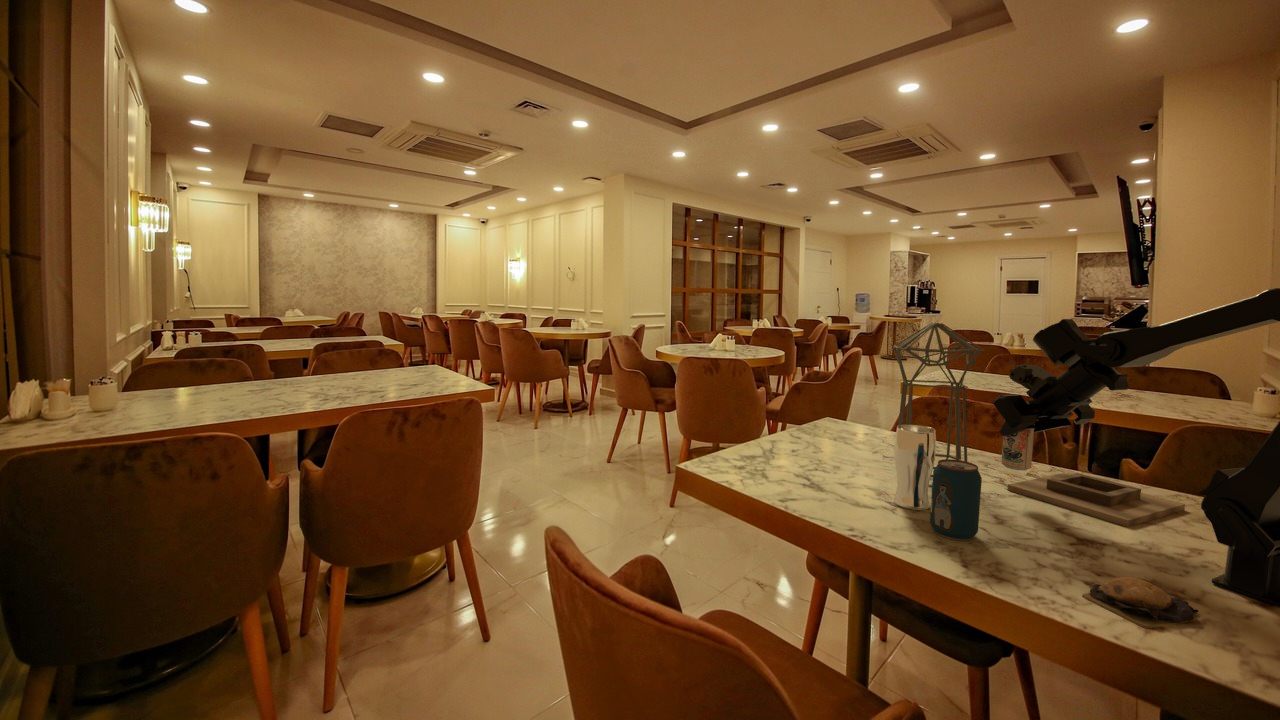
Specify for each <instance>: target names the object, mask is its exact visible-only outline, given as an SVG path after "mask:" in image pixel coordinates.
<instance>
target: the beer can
mask: <svg viewBox="0 0 1280 720" xmlns="http://www.w3.org/2000/svg"><path fill="white" fill-rule="evenodd" d="M1003 419H1004V418H1003ZM1004 422H1005V419H1004V420H1003V423H1004ZM1034 424H1035V423H1034ZM1034 424H1033V425H1034ZM1034 435H1035V433H1034V429H1030V430H1026V431H1022V432H1019V433H1015V434H1011V435H1007V436H1002V450H1001V461H1000V462H1001V465H1002V466H1004V467H1005V468H1007V469H1011V470H1015V471H1028V470H1030V469H1032V463H1033V462H1032V461H1033V449H1034Z"/></svg>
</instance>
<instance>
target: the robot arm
mask: <svg viewBox="0 0 1280 720" xmlns="http://www.w3.org/2000/svg"><path fill="white" fill-rule="evenodd" d="M1279 322H1280V287H1276V288H1270V289H1267V290H1264V291H1262V292H1260V293H1259V294H1256V295H1253V296H1250V297H1246V298H1243V299H1240V300H1237V301H1233V302H1230V303H1226V304H1223V305H1220V306H1216V307H1214V308H1210V309H1208V310H1204V311H1202V312H1198V313H1194V314H1191V315H1188V316H1184V317H1182V318H1178V319H1175V320H1172V321H1168V322H1164V323H1162V324H1158V325H1151V326H1145V327H1144V326H1142V327H1137V328H1136V327H1135V328H1128V329H1121V330H1115V331H1108V332H1104V333H1103V334H1100V335H1099V336H1098V337H1097V338H1095V339H1094V338H1092V339H1091V338H1089V337H1088V335H1086V333H1084V332H1083V331H1082V329H1081V328H1080V327H1079V326H1078V324H1077V323H1076V322H1075V321H1074V319H1072V318H1062V319H1061V320H1060V321H1059V322H1057V323H1054V324H1051V325H1049V326H1047V327H1044V329H1040V330H1039V331H1038V332H1036V334H1034V336H1033V338H1032V341H1033V343H1034V344H1035V345H1036V346H1037V347H1038V348H1039V349H1040V350H1041V352H1042V353H1043V354H1044V355H1045V356H1046V357H1047V359H1048V360H1049V361H1050V362H1051V363H1052V364H1053V365H1054V366H1061V365H1062V366H1064V367H1068V368H1067V369H1065V370H1064V371H1063V372H1062V373H1060V374H1059V375H1058V376H1055V375H1054V374H1053V373H1052V372H1050V371H1047V370H1046V369H1044V368H1043V367H1041V366H1039V365H1037V364H1034V363H1033V364H1030V363H1029V364H1018V365H1014V368H1011V369H1009V375H1008V376H1009V377H1008V378H1009V379H1010V380H1011V381H1012V382H1014V383H1016V384H1019V385H1021V386H1022V387H1024V388H1026V389H1027V391H1026V392H1025V393H1026V394H1027V396H1028V397H1029V398H1031V399H1032V400H1027V401H1026V400H1025V399H1024V397H1023V396H1022V395H1020V394H999V395H998V396H997V397H995V399H994V400H993V401H992V404H993V407H995V409H996V410H997V411H998V412H999V414H1000V415H1001V416H1002V418H1003V419H1005V422H1004V421H1003V424H1002V427H1001V428H1000V430H999V434H1000V435H1001V436H1002V437H1003V436H1007V435H1011V434H1015V433H1019V432H1022V431H1026V430H1030V429H1034V434H1035V433H1040V432H1044V431H1050V430H1056V429H1059V428H1066V427H1070V426H1072V422H1071V421H1070V418H1071V417H1073V416H1074V414H1075V415H1076V416H1077V417H1076V418H1075V419H1073V422H1074V424H1075V425H1085V424H1086V425H1087V424H1088V423H1089V422H1091V421H1093V420H1094V419H1095V413H1096V411H1095V410H1094V409H1093V408H1092V406H1090V404H1091V403H1093V401H1092V399H1091V398H1093V397H1094V396H1096V395H1097V394H1098V393H1100V392H1101V391H1103V390H1104V389H1105V388H1107V389H1108V390H1109V391H1113V392H1114V391H1127V390H1129V381H1128V378H1129V375H1128V373H1120V372H1119V371H1117V369H1116V368H1133V367H1134V368H1135V367H1136V368H1137V367H1144V366H1147V365H1150V364H1152V363H1154V362H1156V361H1159V360H1161V359H1163V358H1166V357H1168V356H1169V355H1171V354H1173V353H1174V352H1176V351H1178V350H1180V349H1182V348H1185V347H1188V346H1189V347H1190V346H1192V345H1196V344H1200V343H1203V342H1207V341H1211V340H1215V339H1220V338H1223V337H1226V336H1230V335H1233V334H1234V335H1235V334H1238V333H1242V332H1245V331H1249V330H1252V329H1253V330H1254V329H1256V328H1260V327H1264V326H1269V325H1272V324H1275V323H1279ZM1069 366H1070V367H1069ZM1073 412H1074V413H1073ZM1034 423H1035V424H1034ZM1033 424H1034V425H1033ZM1199 494H1200V495H1201V496H1204V497H1203V498H1202V500H1201V504H1200V509H1201V510H1202V511H1203V513H1204V515H1205V517H1206V519H1208V521H1209V522H1210V523H1211V526H1212V529H1213V532H1214V536H1215V537H1216V541H1217V543H1219V544H1222V545H1224V546H1226V547H1227V552H1226V553H1227V554H1226V562H1225V567H1224V568H1225V569H1224V574H1220V575H1217V576H1216V577H1214V578H1211V583H1212V584H1213V585H1217V586H1220V587H1222V588H1224V589H1228V590H1231V591H1234V592H1236V593H1240V594H1242V595H1246V596H1249V597H1251V598H1254V599H1257V600H1260V601H1263V602H1266V603H1269V604H1271V605H1274V606H1277V607H1280V420H1279V421H1278V423H1277V424H1276V425H1275V426H1274V429H1272V431H1271V432H1270V434H1269V435H1268V436H1267V438H1266V439H1265V440H1264V442H1263V443H1262V444H1261V445H1260V447H1259V448H1258V450H1256V452H1255V454H1254V456H1252V458H1251V460H1250V461H1249V462H1248V464H1246V465H1245V466H1244V467H1237V468H1236V467H1234V468H1228V469H1227V468H1226V469H1218V470H1216V471H1215V473H1214V474H1213V476H1212V478H1211V480H1210V483H1209V484H1208V485H1207V486H1206V488H1205V489H1203V490H1201V491H1199Z"/></svg>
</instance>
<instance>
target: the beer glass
mask: <svg viewBox="0 0 1280 720" xmlns="http://www.w3.org/2000/svg"><path fill="white" fill-rule="evenodd" d="M936 432H937V431H936V429H935V428H933V427H929V426H926V425H917V424H912V425H909V424H908V425H906V424H903V425H899V426H898V425H897V426H896V432H895V440H894V449H893V450H894V451H893V452H894V465H895V473H896V478H897V480H896V485H897V486H896V491H895V494H894V497H893V498H894V499H893V502H894V504H895V505H897V506H898V507H901V508H903V509H907V510H912V511H926V510H929V509H930V500H929V499H930V498H929V487H928V486H929V485H930V481H931V478H932V477H931V475H933V470H934V469H933V467H935V460H936V456H935V454H937V453H936V452H937V451H936V450H937V449H936V447H937V438H936V437H937V435H936Z"/></svg>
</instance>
